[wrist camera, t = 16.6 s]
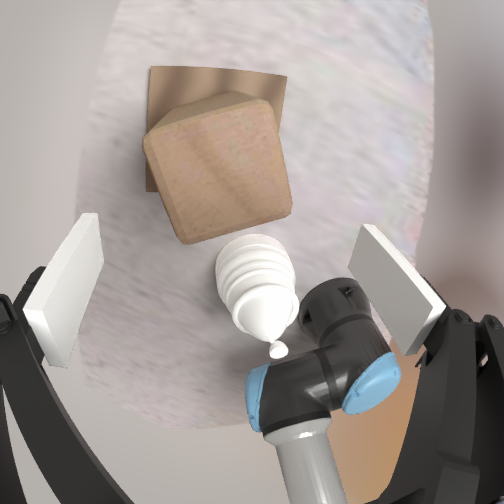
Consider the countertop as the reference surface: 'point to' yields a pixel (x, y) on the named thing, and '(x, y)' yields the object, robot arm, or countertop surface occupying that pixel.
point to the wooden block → (219, 166)
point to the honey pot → (258, 288)
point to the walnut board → (206, 92)
